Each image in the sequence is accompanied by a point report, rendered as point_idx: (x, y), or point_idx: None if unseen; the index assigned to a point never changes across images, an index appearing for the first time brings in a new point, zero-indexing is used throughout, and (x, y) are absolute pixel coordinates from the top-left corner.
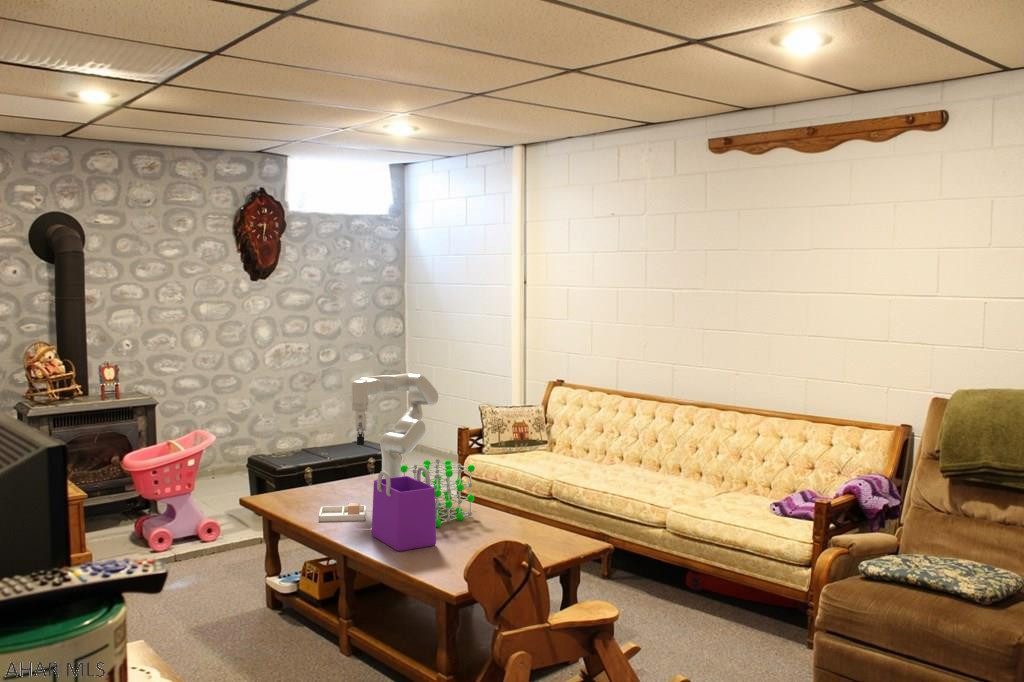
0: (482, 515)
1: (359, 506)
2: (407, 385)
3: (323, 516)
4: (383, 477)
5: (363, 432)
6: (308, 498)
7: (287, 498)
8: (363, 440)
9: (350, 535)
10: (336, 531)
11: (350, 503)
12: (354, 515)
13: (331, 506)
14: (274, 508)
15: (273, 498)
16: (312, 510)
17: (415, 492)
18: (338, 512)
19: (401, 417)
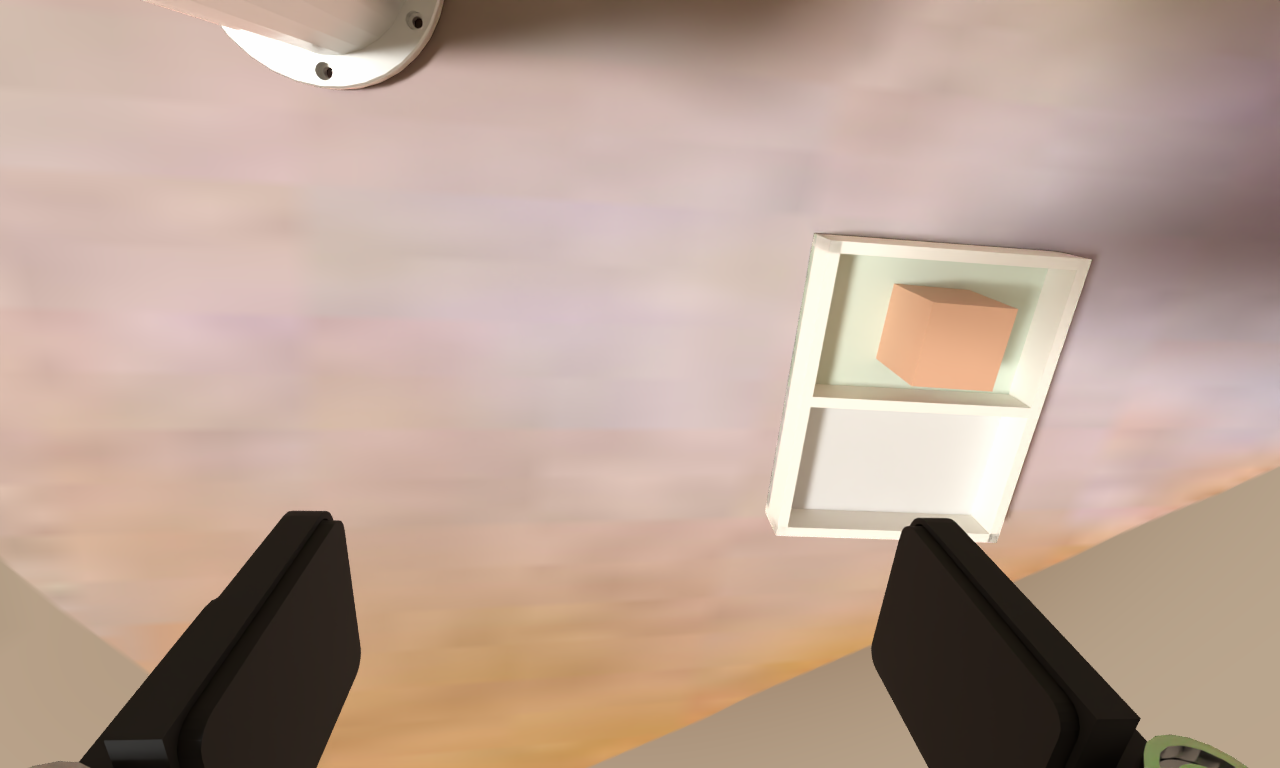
0: None
1: (965, 301)
2: None
3: (1002, 515)
4: (289, 8)
5: (162, 757)
6: (390, 590)
7: (388, 692)
8: (1020, 609)
9: None
10: (1187, 426)
11: (922, 371)
12: (1065, 333)
13: (793, 477)
14: (613, 729)
15: (387, 752)
16: (694, 558)
17: None
18: (815, 419)
19: None
